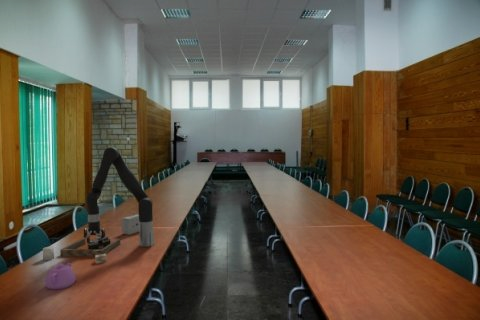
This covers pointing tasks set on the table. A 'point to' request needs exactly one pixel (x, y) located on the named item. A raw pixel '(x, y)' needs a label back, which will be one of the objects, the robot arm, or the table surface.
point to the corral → (73, 250)
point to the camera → (99, 243)
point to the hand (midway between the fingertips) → (94, 243)
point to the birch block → (100, 258)
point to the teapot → (60, 277)
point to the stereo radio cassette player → (130, 224)
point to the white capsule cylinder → (48, 253)
